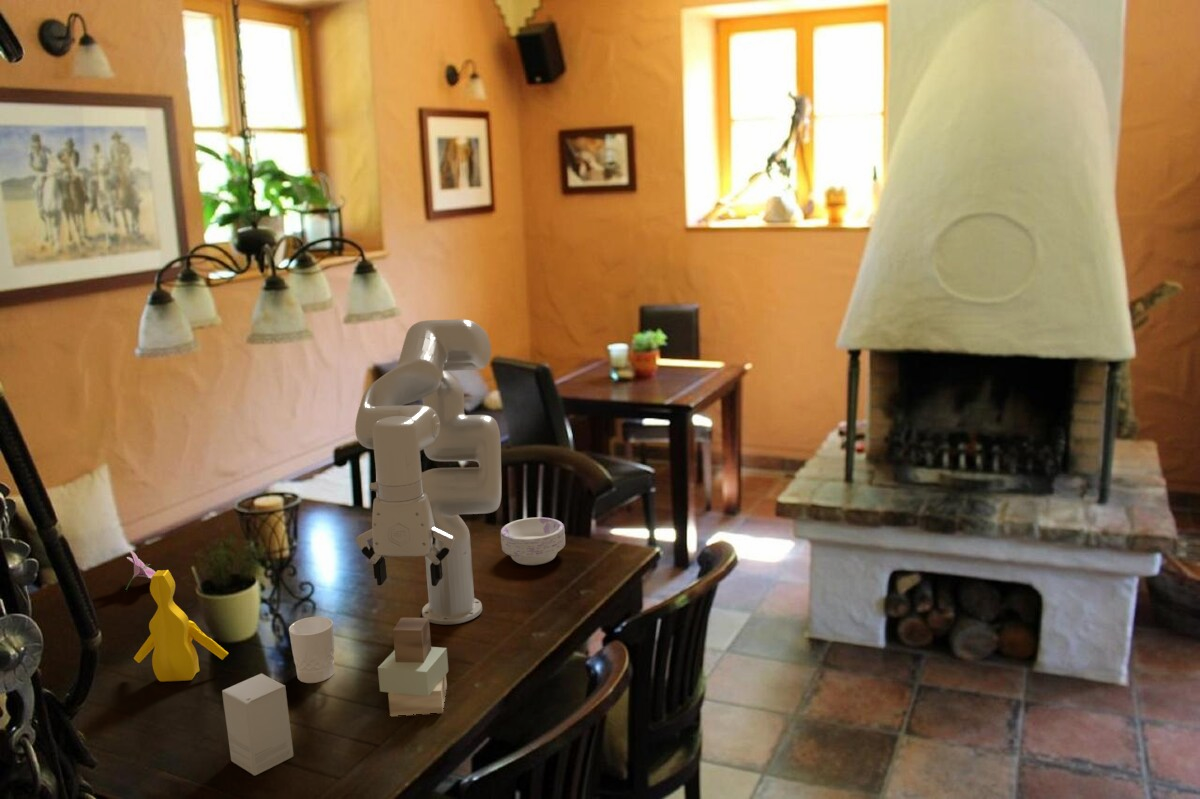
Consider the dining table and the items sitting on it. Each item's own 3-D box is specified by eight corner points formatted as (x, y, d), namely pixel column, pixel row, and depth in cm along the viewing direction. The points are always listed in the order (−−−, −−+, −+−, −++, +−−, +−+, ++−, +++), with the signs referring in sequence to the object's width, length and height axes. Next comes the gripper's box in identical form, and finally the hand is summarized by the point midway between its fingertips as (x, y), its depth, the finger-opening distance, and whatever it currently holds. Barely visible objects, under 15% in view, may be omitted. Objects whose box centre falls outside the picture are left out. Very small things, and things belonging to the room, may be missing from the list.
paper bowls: (489, 559, 250) (487, 527, 248) (538, 542, 259) (537, 512, 258) (529, 576, 239) (527, 543, 237) (579, 557, 248) (577, 526, 247)
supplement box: (295, 756, 169) (287, 685, 166) (253, 777, 163) (244, 704, 160) (270, 741, 173) (262, 671, 171) (229, 761, 168) (220, 689, 165)
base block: (397, 692, 189) (395, 669, 188) (447, 688, 189) (445, 666, 188) (390, 717, 180) (388, 694, 179) (442, 714, 180) (440, 690, 179)
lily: (146, 605, 233) (163, 564, 234) (96, 586, 233) (113, 546, 234) (165, 599, 245) (181, 561, 246) (117, 582, 245) (134, 543, 246)
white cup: (320, 661, 201) (315, 613, 199) (346, 672, 196) (341, 623, 194) (285, 677, 195) (280, 627, 193) (311, 689, 190) (305, 638, 188)
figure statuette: (233, 665, 201) (220, 557, 196) (220, 685, 193) (206, 573, 188) (141, 669, 201) (125, 561, 196) (123, 689, 193) (107, 578, 188)
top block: (401, 667, 188) (399, 644, 187) (448, 671, 186) (446, 648, 185) (379, 691, 180) (377, 667, 179) (428, 696, 178) (426, 671, 177)
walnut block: (403, 648, 185) (401, 617, 184) (431, 649, 185) (428, 617, 184) (395, 662, 181) (392, 630, 179) (423, 662, 180) (421, 630, 179)
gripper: (343, 496, 174) (353, 591, 178) (444, 497, 172) (452, 592, 176) (358, 481, 181) (368, 572, 186) (455, 482, 179) (463, 574, 184)
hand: (409, 582), depth 181 cm, fingers open, 9 cm apart
